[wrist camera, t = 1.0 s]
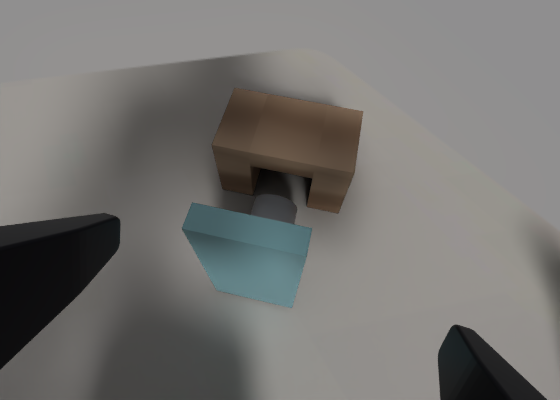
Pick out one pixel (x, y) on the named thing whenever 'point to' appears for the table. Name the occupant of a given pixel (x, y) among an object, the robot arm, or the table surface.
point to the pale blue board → (251, 248)
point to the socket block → (288, 144)
